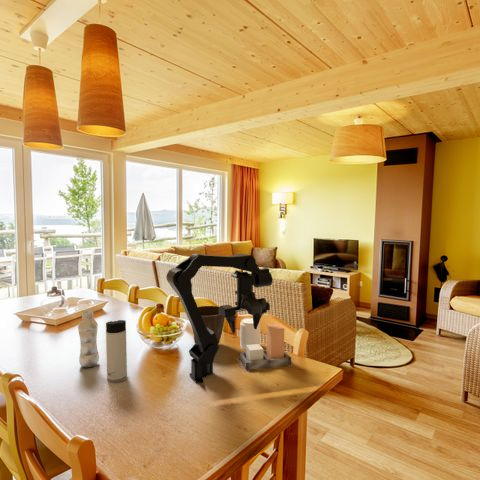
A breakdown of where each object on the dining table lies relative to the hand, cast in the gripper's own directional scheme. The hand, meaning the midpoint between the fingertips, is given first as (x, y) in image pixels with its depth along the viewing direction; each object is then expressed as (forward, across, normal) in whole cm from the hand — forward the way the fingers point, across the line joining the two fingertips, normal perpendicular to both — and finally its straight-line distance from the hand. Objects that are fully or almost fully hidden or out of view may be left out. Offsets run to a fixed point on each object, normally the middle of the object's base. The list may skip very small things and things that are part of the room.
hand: (244, 331), depth 120 cm
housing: (+13, +7, -3) cm, 15 cm away
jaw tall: (+12, +11, -4) cm, 16 cm away
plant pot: (+13, -5, +21) cm, 25 cm away
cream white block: (+12, +3, -2) cm, 12 cm away
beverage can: (+13, +10, +12) cm, 20 cm away
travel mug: (+13, -42, +13) cm, 46 cm away
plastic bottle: (+13, -49, +28) cm, 58 cm away
